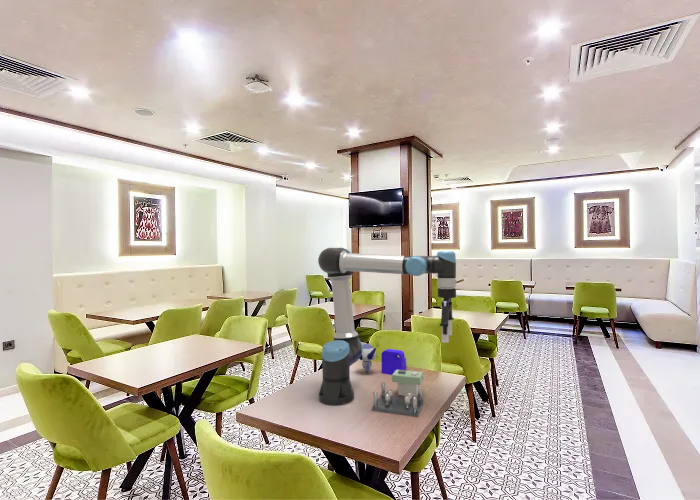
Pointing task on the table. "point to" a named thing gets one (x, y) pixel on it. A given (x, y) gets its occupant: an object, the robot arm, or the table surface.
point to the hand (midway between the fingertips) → (447, 338)
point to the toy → (367, 356)
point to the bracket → (393, 361)
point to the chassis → (398, 403)
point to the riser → (407, 389)
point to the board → (407, 377)
